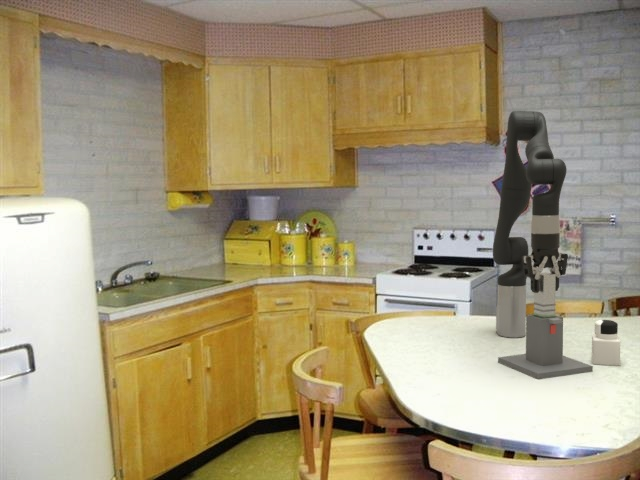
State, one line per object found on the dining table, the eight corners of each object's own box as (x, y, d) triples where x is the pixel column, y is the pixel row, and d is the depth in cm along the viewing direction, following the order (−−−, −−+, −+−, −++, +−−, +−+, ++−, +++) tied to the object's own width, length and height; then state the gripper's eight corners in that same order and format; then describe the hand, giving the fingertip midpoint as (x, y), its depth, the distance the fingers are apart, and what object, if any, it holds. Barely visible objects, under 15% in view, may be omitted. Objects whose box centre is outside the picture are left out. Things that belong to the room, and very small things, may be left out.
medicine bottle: (617, 359, 197) (618, 319, 196) (620, 366, 191) (620, 324, 190) (591, 358, 200) (592, 317, 199) (592, 364, 193) (593, 322, 192)
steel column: (533, 338, 192) (534, 273, 190) (545, 336, 193) (546, 272, 192) (542, 341, 188) (543, 275, 186) (555, 339, 190) (555, 274, 188)
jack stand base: (498, 362, 197) (498, 313, 196) (549, 355, 203) (549, 307, 202) (538, 379, 180) (538, 325, 179) (592, 371, 186) (593, 319, 185)
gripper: (557, 229, 194) (556, 287, 195) (515, 231, 189) (514, 291, 191) (575, 231, 187) (574, 291, 188) (532, 233, 182) (531, 295, 184)
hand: (544, 291), depth 190 cm, fingers open, 6 cm apart
